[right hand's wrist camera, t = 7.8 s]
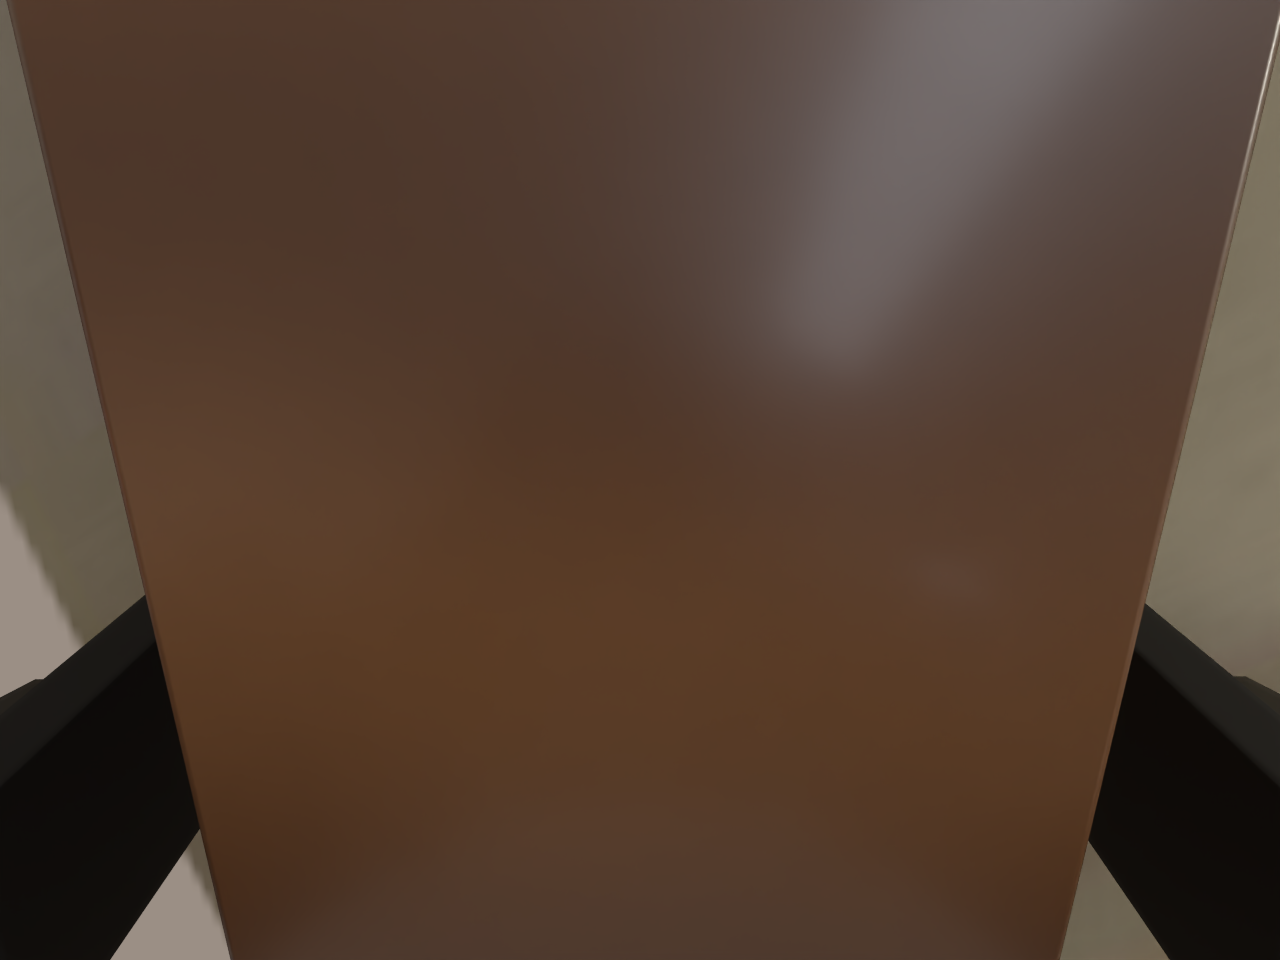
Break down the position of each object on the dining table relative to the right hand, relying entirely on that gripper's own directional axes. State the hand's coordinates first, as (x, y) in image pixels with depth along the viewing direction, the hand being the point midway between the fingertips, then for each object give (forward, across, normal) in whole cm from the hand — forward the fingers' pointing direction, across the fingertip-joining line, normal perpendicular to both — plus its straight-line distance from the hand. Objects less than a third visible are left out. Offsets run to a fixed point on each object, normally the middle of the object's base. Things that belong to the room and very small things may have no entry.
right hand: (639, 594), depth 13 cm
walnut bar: (+1, 0, +8) cm, 8 cm away
